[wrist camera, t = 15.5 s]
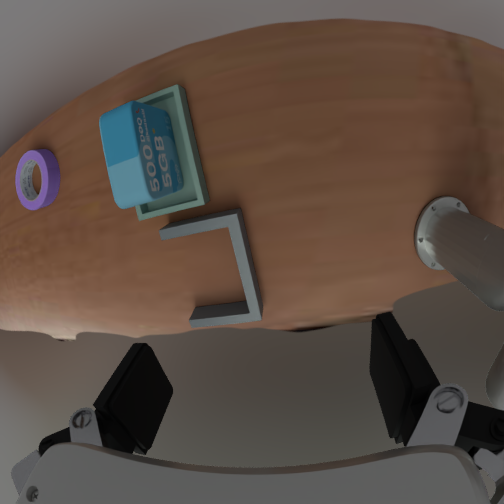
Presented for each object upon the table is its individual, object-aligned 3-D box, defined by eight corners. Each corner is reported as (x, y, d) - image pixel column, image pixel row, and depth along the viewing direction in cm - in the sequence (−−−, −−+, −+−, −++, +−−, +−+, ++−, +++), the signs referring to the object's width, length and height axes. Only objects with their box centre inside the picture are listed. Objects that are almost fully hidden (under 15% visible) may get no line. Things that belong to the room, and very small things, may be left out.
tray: (184, 88, 33) (177, 84, 31) (209, 200, 39) (204, 204, 36) (124, 112, 35) (114, 110, 32) (147, 216, 41) (139, 220, 38)
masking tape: (46, 136, 37) (32, 137, 33) (69, 180, 40) (55, 183, 36) (22, 175, 40) (9, 178, 36) (43, 217, 43) (30, 222, 39)
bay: (240, 207, 39) (236, 213, 35) (263, 306, 44) (261, 320, 40) (169, 223, 41) (158, 230, 37) (197, 314, 46) (191, 327, 42)
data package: (185, 188, 38) (149, 202, 27) (158, 195, 39) (116, 212, 27) (169, 111, 34) (128, 97, 23) (142, 120, 35) (96, 113, 24)
